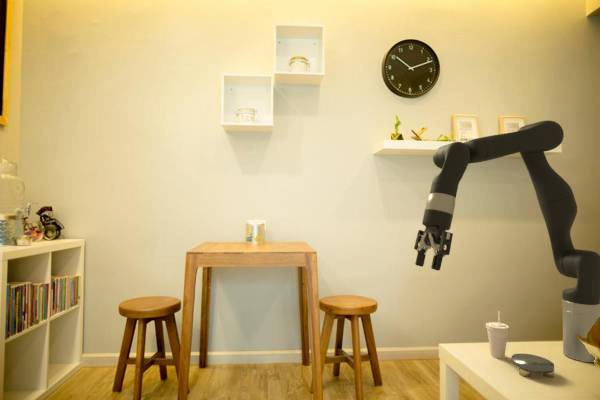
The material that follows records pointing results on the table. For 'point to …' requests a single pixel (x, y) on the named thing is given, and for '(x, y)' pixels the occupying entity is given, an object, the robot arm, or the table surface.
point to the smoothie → (497, 338)
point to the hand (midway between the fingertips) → (426, 267)
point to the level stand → (533, 365)
